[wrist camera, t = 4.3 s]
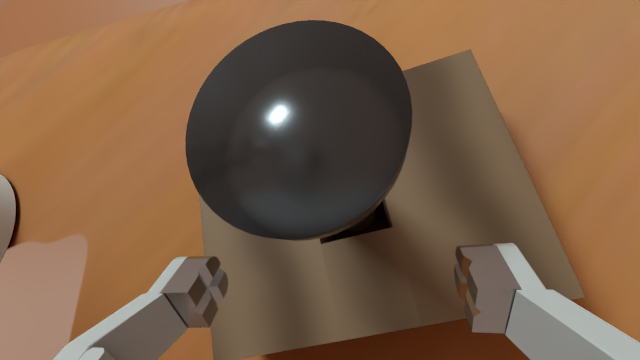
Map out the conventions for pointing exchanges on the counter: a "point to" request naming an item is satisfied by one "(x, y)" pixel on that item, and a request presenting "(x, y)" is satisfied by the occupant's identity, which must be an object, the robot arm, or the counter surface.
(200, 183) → the steel peg
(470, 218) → the brown flat block
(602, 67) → the counter surface
